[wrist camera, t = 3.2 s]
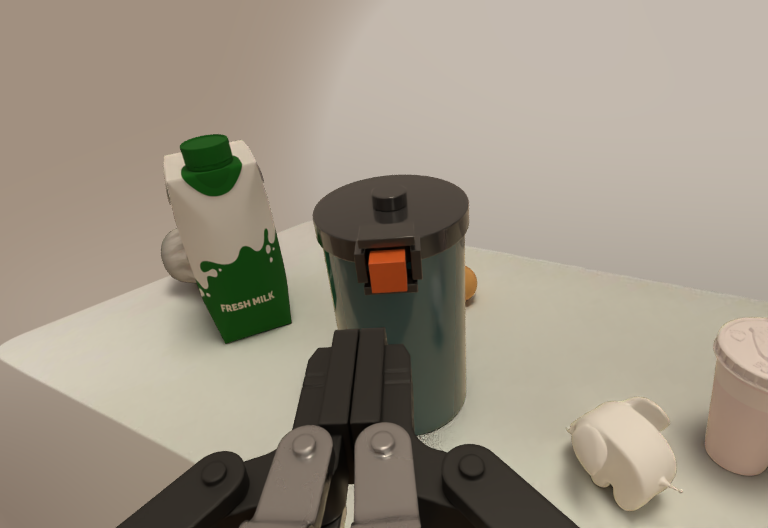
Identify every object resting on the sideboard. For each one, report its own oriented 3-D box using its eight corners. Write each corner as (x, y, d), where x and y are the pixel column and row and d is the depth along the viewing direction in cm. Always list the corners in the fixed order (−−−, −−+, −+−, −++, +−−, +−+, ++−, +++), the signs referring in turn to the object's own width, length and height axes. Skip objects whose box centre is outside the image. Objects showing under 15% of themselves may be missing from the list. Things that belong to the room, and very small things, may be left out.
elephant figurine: (603, 419, 38) (614, 362, 35) (703, 501, 32) (728, 440, 29) (536, 460, 36) (542, 402, 33) (632, 557, 30) (650, 497, 27)
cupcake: (203, 301, 63) (272, 289, 60) (146, 285, 55) (223, 270, 51) (206, 232, 66) (272, 218, 63) (152, 206, 57) (225, 188, 54)
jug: (354, 331, 50) (326, 154, 41) (460, 326, 50) (456, 143, 40) (338, 458, 38) (291, 244, 28) (479, 453, 37) (482, 231, 27)
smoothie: (722, 501, 32) (795, 334, 25) (664, 423, 38) (710, 267, 30) (816, 485, 32) (917, 316, 25) (745, 410, 38) (810, 253, 31)
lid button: (373, 279, 29) (369, 250, 28) (407, 277, 29) (404, 248, 28) (372, 293, 28) (368, 263, 27) (407, 291, 28) (405, 261, 27)
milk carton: (217, 352, 50) (149, 160, 39) (208, 305, 57) (149, 132, 46) (302, 325, 52) (259, 138, 42) (283, 283, 59) (243, 114, 49)
